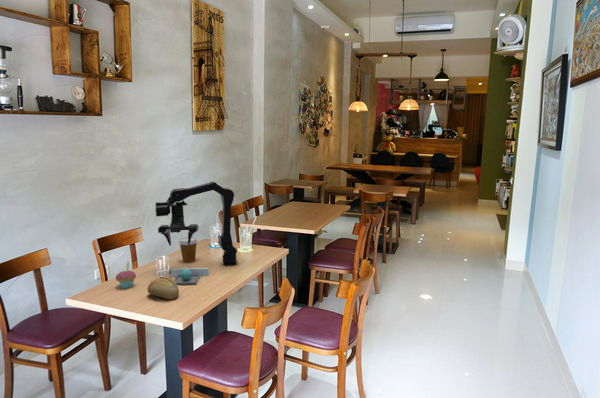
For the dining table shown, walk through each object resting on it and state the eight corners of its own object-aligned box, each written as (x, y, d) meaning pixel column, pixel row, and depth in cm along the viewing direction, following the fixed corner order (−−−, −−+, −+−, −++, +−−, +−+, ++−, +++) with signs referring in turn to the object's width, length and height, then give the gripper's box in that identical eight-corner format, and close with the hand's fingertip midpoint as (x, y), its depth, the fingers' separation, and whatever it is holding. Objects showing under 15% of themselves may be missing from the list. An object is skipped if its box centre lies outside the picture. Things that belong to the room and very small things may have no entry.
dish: (200, 276, 216) (200, 274, 215) (195, 284, 205) (195, 282, 204) (177, 277, 215) (177, 274, 215) (171, 285, 205) (171, 282, 204)
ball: (193, 277, 212) (192, 267, 212) (190, 281, 208) (189, 270, 207) (182, 278, 212) (181, 268, 212) (179, 281, 207) (178, 271, 207)
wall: (209, 274, 218) (208, 267, 218) (208, 275, 217) (208, 268, 216) (172, 275, 218) (171, 268, 217) (171, 276, 217) (170, 269, 216)
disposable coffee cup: (195, 263, 236) (194, 241, 234) (177, 263, 236) (176, 241, 234) (200, 258, 246) (198, 237, 244) (182, 258, 246) (181, 237, 244)
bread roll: (158, 290, 199) (157, 272, 198) (185, 295, 193) (184, 277, 191) (142, 297, 191) (140, 279, 189) (169, 303, 184) (168, 284, 183)
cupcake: (140, 284, 207) (138, 259, 205) (128, 290, 199) (125, 264, 197) (125, 282, 210) (123, 257, 208) (112, 288, 202) (110, 262, 200)
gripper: (154, 218, 213) (156, 250, 216) (193, 217, 214) (195, 249, 216) (160, 213, 224) (162, 244, 227) (197, 213, 225) (199, 243, 227)
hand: (179, 245), depth 224 cm, fingers open, 9 cm apart
